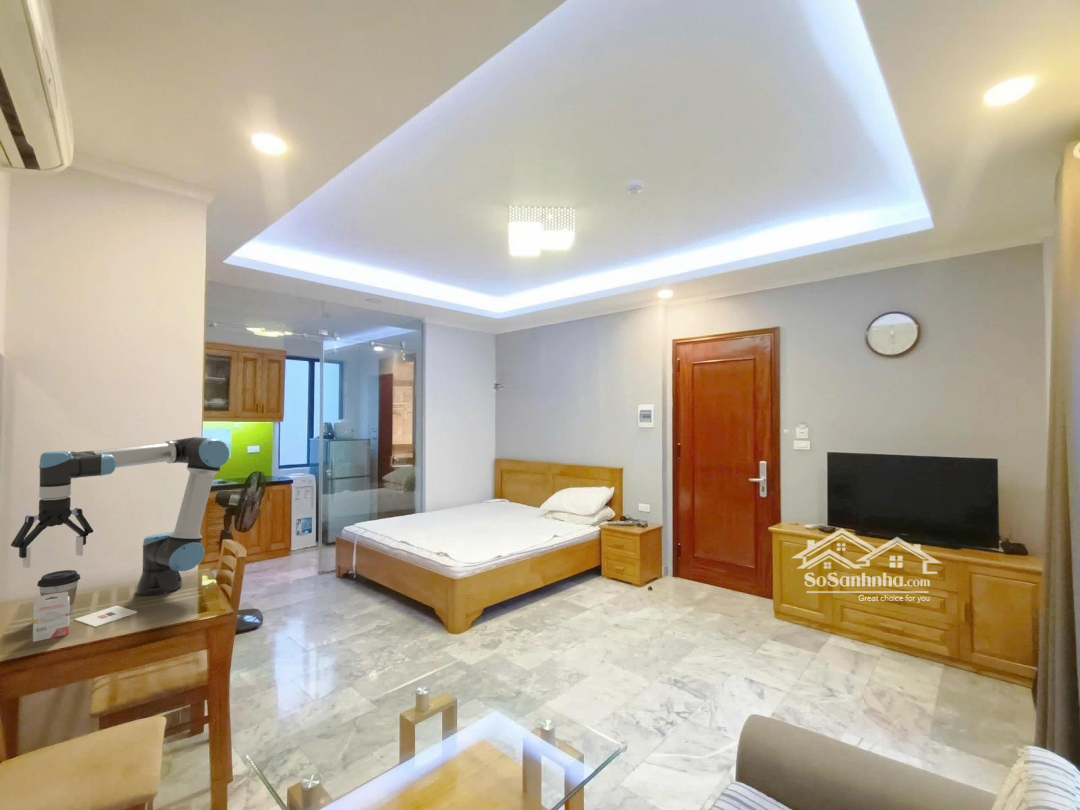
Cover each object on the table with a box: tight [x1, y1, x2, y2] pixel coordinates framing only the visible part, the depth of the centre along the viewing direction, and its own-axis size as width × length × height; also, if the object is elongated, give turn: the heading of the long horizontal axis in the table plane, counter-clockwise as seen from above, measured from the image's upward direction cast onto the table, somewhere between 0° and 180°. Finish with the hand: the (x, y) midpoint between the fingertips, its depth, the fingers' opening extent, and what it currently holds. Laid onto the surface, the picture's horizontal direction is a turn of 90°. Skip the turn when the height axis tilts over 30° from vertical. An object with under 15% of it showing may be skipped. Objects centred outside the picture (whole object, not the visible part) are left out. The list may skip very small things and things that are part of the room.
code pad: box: [74, 605, 139, 628], centre depth 178 cm, size 13×13×1 cm
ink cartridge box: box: [32, 592, 70, 643], centre depth 163 cm, size 9×5×15 cm, turn 131°
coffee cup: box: [36, 569, 81, 616], centre depth 178 cm, size 11×11×15 cm
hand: (53, 560), depth 163 cm, fingers open, 13 cm apart
